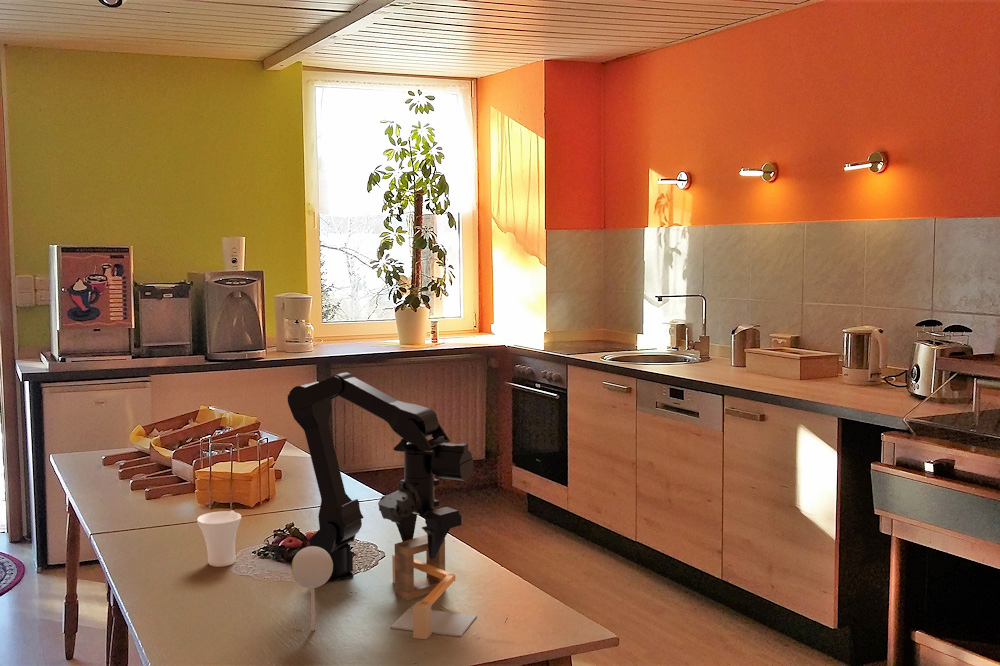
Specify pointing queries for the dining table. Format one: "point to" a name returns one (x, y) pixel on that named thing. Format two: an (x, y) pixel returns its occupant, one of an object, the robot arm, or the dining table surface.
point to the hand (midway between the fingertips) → (419, 554)
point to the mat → (439, 622)
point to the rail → (427, 598)
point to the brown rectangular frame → (405, 568)
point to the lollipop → (312, 571)
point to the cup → (220, 536)
